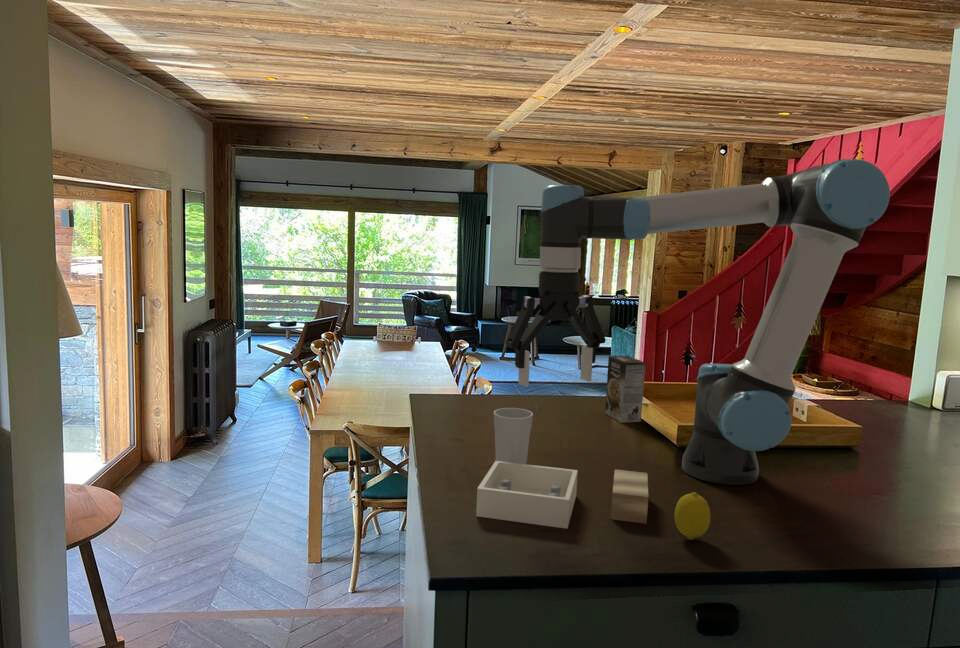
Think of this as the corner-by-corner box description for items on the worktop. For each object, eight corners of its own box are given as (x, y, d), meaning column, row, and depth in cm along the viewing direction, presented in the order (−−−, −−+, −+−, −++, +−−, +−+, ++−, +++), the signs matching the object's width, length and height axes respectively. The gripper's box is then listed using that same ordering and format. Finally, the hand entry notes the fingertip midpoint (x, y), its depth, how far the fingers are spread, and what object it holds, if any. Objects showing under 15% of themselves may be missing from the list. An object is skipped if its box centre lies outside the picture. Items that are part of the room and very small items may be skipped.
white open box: (576, 495, 126) (577, 470, 126) (567, 528, 112) (569, 500, 112) (494, 485, 130) (495, 460, 129) (476, 516, 116) (477, 488, 115)
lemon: (680, 528, 114) (684, 483, 113) (713, 539, 110) (717, 492, 109) (667, 539, 110) (670, 492, 108) (700, 550, 106) (704, 502, 105)
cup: (527, 478, 134) (530, 420, 133) (488, 474, 136) (490, 416, 134) (532, 465, 142) (535, 409, 140) (495, 461, 144) (497, 406, 142)
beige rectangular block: (613, 494, 128) (614, 469, 128) (645, 498, 127) (647, 472, 126) (610, 520, 117) (612, 492, 116) (646, 525, 116) (648, 497, 115)
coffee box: (603, 413, 185) (607, 355, 182) (624, 412, 187) (628, 355, 184) (620, 423, 176) (624, 362, 174) (642, 421, 178) (646, 361, 176)
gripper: (604, 268, 134) (599, 374, 137) (489, 269, 124) (487, 382, 127) (627, 271, 127) (621, 382, 130) (508, 271, 117) (504, 392, 120)
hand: (555, 382), depth 128 cm, fingers open, 13 cm apart
